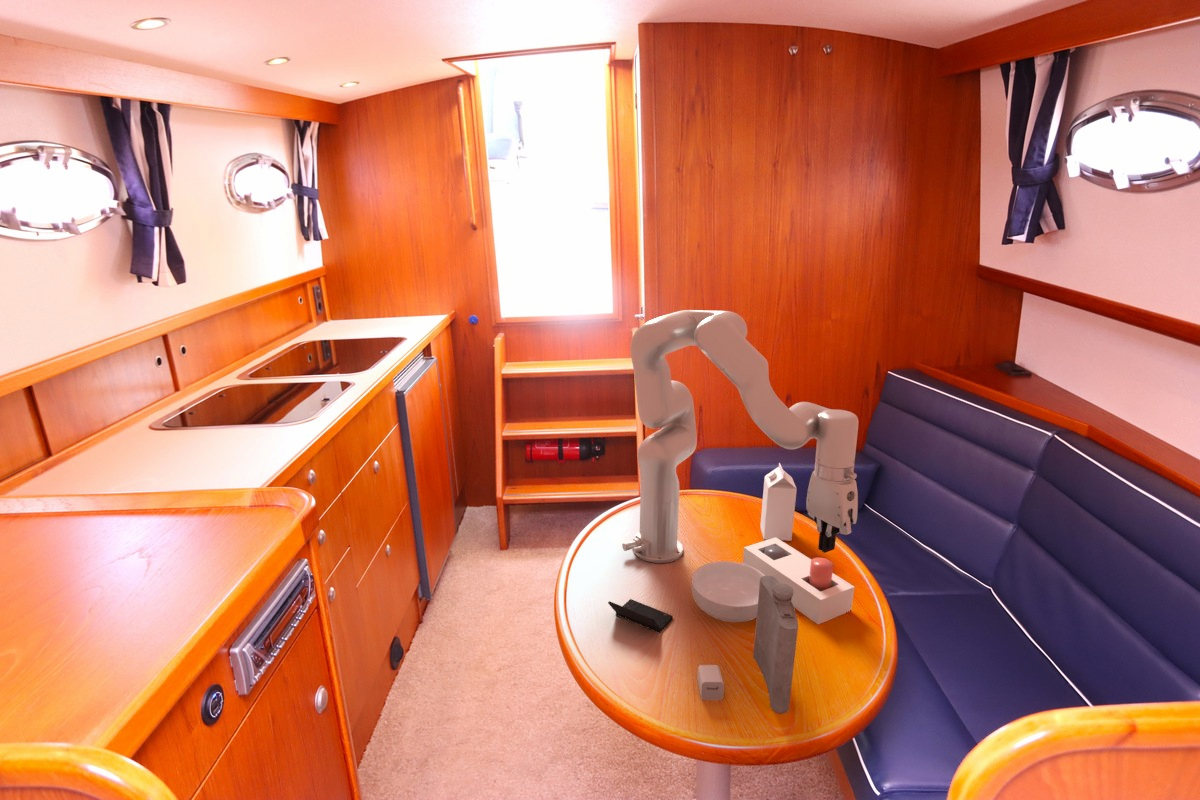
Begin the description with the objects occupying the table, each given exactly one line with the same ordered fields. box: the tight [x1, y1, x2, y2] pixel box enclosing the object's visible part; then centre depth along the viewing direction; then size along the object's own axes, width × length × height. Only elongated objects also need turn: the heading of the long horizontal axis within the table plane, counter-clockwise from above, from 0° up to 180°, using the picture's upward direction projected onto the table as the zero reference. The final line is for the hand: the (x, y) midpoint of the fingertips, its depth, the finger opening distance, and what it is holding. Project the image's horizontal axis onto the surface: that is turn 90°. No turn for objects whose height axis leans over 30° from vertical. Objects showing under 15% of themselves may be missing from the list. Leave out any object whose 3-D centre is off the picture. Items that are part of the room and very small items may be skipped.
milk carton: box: [759, 462, 798, 542], centre depth 172 cm, size 7×7×19 cm
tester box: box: [742, 537, 855, 625], centre depth 150 cm, size 10×24×6 cm, turn 29°
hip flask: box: [752, 576, 799, 715], centre depth 119 cm, size 16×4×20 cm, turn 1°
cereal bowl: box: [690, 560, 765, 623], centre depth 142 cm, size 17×17×7 cm
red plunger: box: [808, 557, 834, 591], centre depth 142 cm, size 5×5×6 cm
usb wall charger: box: [696, 662, 725, 701], centre depth 121 cm, size 4×7×4 cm, turn 0°
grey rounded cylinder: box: [764, 545, 785, 560], centre depth 155 cm, size 5×5×6 cm
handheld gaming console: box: [607, 598, 674, 634], centre depth 139 cm, size 12×7×10 cm
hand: (826, 549), depth 140 cm, fingers closed
